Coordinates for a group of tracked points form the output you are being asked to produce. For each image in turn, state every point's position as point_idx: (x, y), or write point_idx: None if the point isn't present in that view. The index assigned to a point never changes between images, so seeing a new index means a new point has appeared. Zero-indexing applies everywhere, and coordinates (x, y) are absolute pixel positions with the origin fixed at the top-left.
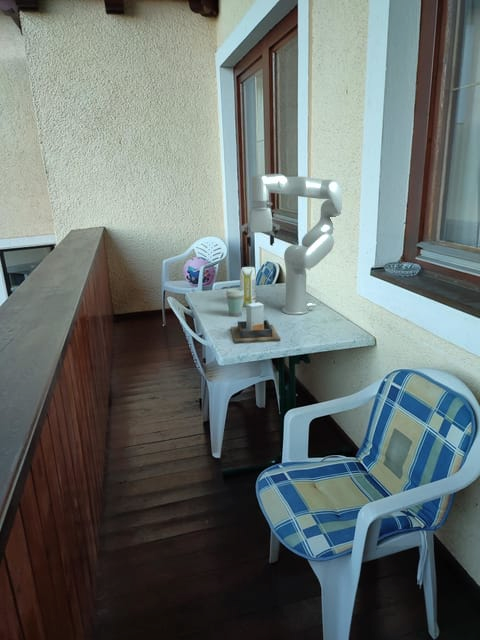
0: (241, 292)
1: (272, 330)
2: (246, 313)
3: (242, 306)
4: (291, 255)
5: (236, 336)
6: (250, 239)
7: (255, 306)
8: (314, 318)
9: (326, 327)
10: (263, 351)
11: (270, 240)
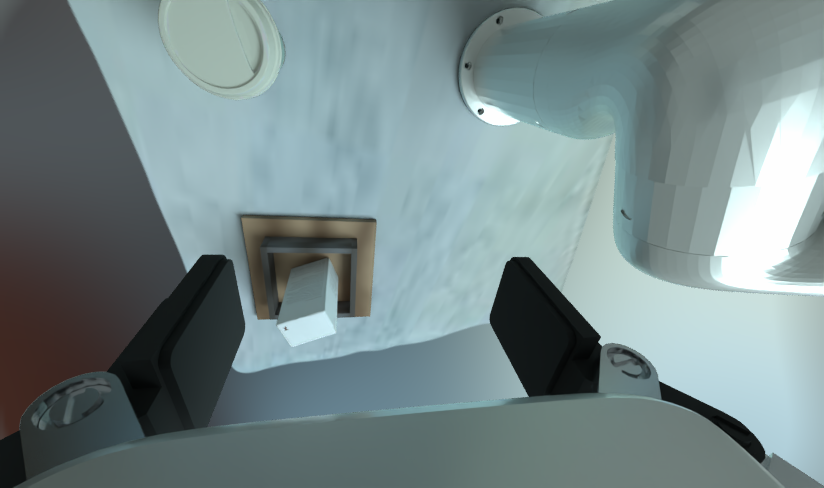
0: (260, 85)
1: (364, 267)
2: (282, 304)
3: (281, 62)
4: (649, 165)
5: (261, 293)
6: (207, 410)
7: (306, 341)
8: (520, 173)
9: (507, 249)
10: (322, 353)
11: (523, 322)
